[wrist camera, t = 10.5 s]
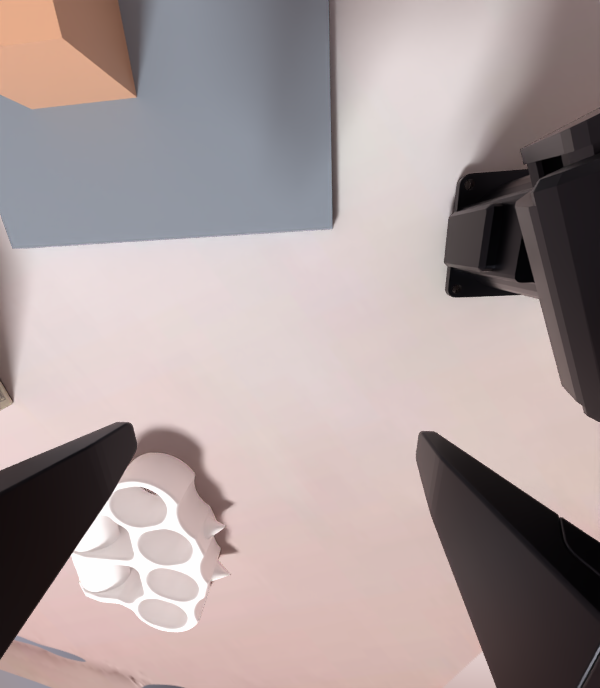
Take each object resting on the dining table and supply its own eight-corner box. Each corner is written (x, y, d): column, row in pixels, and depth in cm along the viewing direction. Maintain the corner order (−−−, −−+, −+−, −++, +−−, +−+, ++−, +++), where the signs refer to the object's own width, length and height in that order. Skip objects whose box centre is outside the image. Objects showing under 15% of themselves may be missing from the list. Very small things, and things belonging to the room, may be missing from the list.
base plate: (325, -190, 12) (325, -382, 8) (332, 229, 17) (334, 224, 13) (-99, -108, 14) (-251, -235, 10) (25, 248, 19) (-46, 249, 15)
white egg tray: (60, 443, 24) (227, 453, 23) (105, 583, 30) (240, 596, 29) (21, 472, 21) (212, 486, 20) (79, 622, 27) (230, 639, 26)
